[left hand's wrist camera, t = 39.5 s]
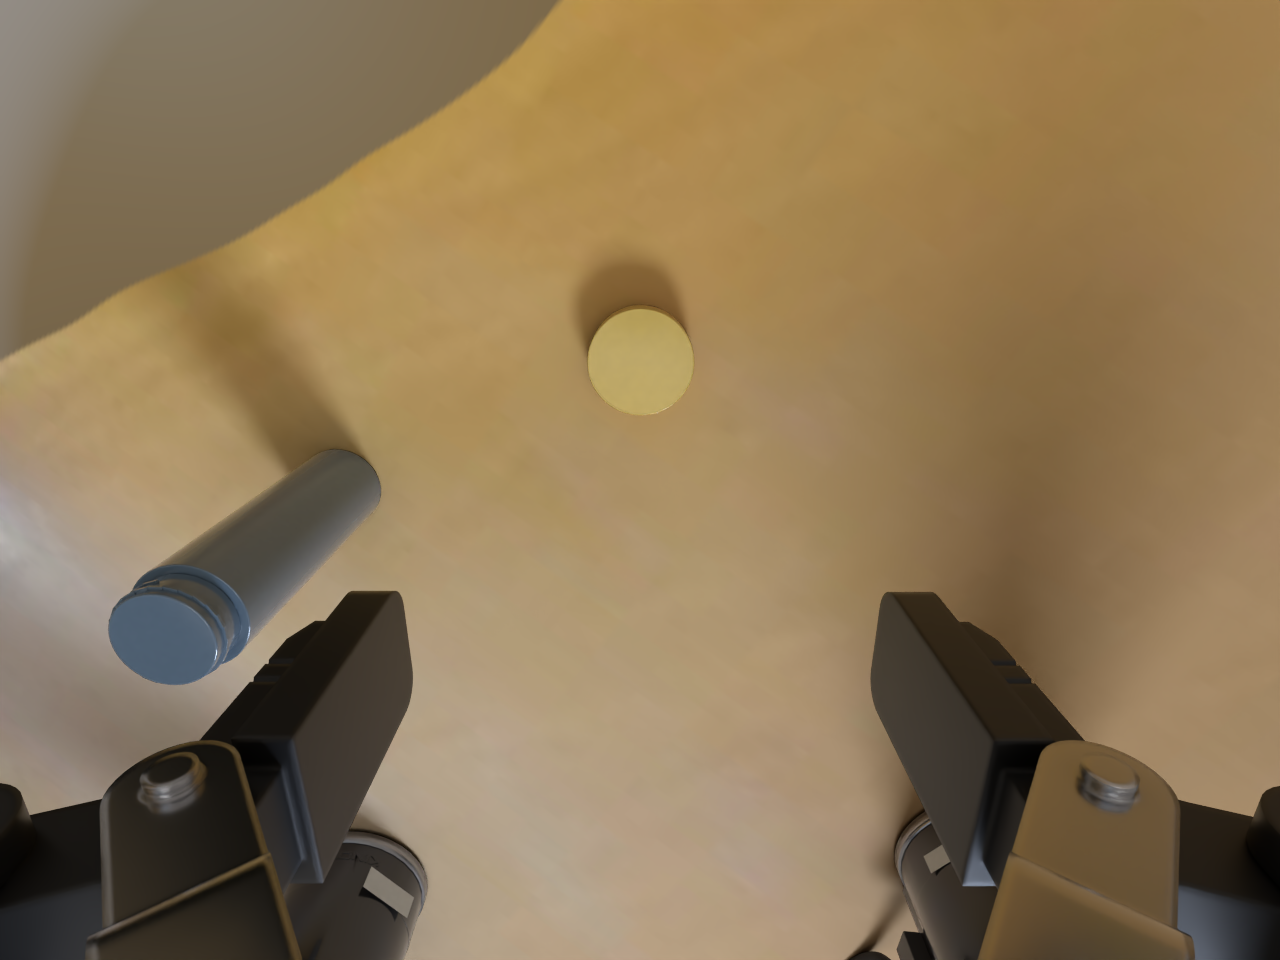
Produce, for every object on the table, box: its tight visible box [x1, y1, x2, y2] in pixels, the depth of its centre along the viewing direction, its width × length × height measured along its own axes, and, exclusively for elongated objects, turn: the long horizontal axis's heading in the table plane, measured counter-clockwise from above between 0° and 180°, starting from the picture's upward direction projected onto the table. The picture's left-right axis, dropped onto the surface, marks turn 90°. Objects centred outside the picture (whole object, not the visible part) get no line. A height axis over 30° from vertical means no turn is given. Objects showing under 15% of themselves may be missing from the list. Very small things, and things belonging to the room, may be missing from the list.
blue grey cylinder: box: [108, 449, 381, 685], centre depth 31 cm, size 4×4×15 cm
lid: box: [587, 305, 694, 415], centre depth 35 cm, size 5×5×2 cm
